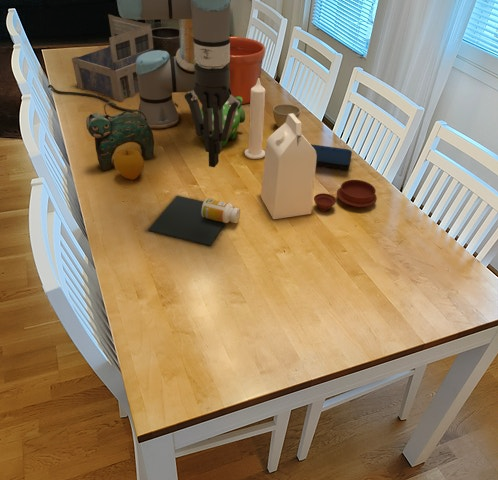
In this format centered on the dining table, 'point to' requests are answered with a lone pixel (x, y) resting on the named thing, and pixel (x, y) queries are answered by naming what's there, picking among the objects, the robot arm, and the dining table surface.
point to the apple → (129, 163)
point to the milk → (288, 171)
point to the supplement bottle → (219, 211)
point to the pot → (244, 66)
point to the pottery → (349, 195)
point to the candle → (256, 122)
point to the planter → (166, 40)
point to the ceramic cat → (119, 134)
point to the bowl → (284, 113)
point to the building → (115, 60)
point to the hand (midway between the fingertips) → (213, 164)
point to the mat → (187, 222)
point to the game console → (332, 157)
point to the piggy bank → (237, 119)
